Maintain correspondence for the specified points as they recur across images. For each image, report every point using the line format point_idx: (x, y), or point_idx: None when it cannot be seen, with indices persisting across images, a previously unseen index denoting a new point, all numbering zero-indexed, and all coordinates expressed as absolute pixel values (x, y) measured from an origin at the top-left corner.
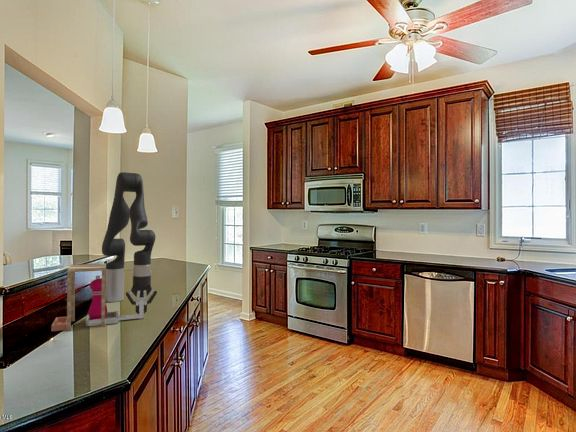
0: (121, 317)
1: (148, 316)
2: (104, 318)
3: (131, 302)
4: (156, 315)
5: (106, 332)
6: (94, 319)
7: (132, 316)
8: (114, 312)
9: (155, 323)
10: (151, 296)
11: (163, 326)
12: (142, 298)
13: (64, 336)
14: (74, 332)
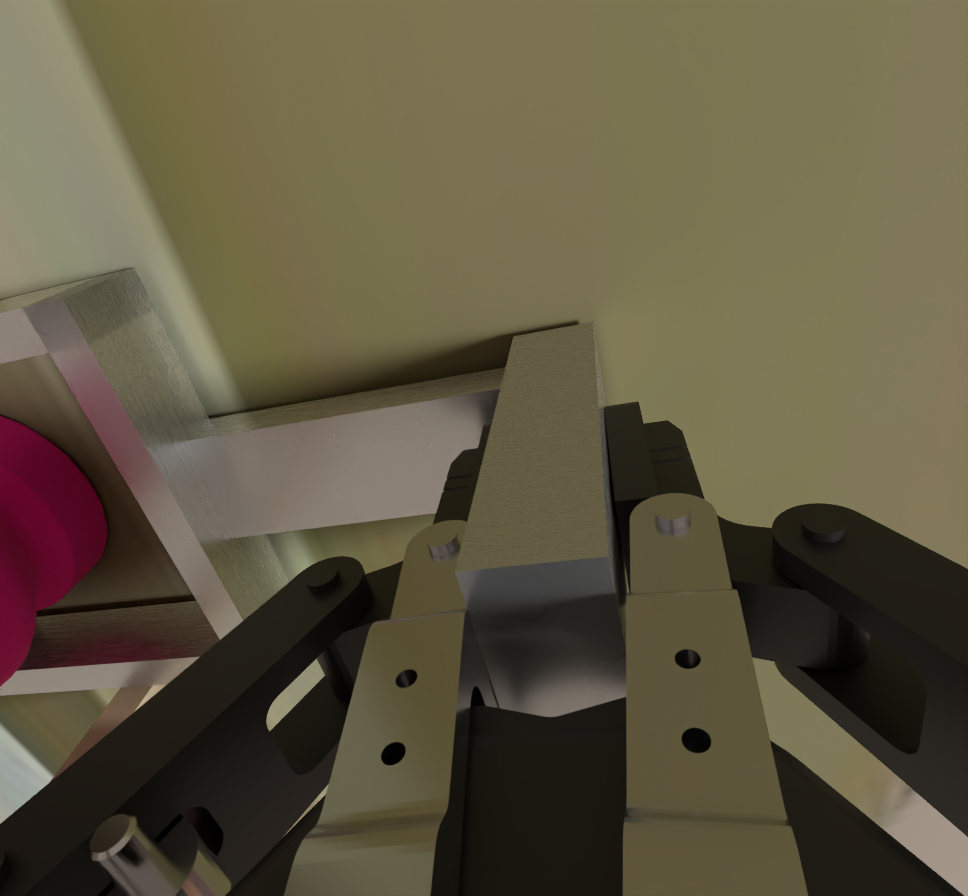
0: (276, 529)
1: (700, 344)
2: None
3: (333, 712)
4: (868, 304)
5: (310, 806)
6: (11, 683)
7: (435, 512)
8: (35, 352)
9: (790, 712)
10: (956, 804)
11: (871, 819)
12: (592, 618)
13: (16, 793)
14: (19, 735)
